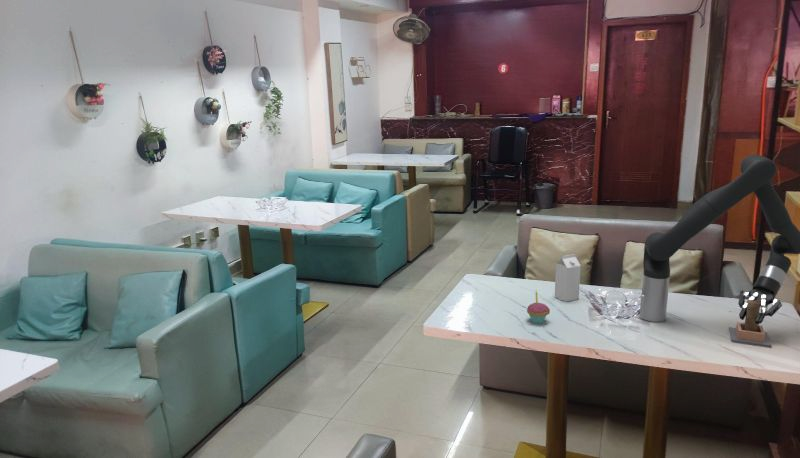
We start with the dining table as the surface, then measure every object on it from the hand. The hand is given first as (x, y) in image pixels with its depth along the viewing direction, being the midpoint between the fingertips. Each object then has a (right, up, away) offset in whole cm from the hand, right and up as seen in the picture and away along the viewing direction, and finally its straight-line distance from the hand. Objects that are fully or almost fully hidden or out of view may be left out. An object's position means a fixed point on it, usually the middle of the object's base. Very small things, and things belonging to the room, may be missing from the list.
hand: (749, 320), depth 210 cm
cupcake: (-69, -3, +20) cm, 72 cm away
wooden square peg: (+2, -5, +2) cm, 6 cm away
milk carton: (-52, +3, +44) cm, 68 cm away
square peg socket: (+2, -7, +3) cm, 7 cm away
